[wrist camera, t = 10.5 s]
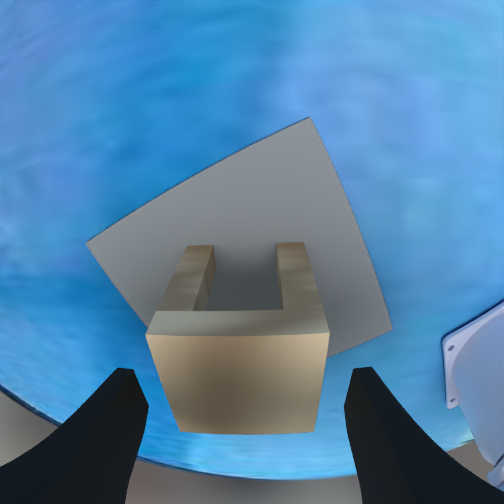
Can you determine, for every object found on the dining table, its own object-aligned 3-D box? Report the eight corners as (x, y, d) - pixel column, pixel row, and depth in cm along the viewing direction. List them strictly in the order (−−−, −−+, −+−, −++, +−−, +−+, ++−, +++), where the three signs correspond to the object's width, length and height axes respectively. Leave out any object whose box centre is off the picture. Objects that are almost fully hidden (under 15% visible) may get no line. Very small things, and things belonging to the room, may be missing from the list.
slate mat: (390, 325, 16) (393, 329, 16) (209, 391, 19) (209, 396, 19) (309, 117, 12) (310, 117, 12) (89, 240, 15) (85, 243, 14)
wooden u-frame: (303, 242, 14) (329, 332, 8) (300, 333, 16) (313, 431, 10) (187, 245, 14) (145, 334, 8) (201, 335, 16) (180, 431, 11)
